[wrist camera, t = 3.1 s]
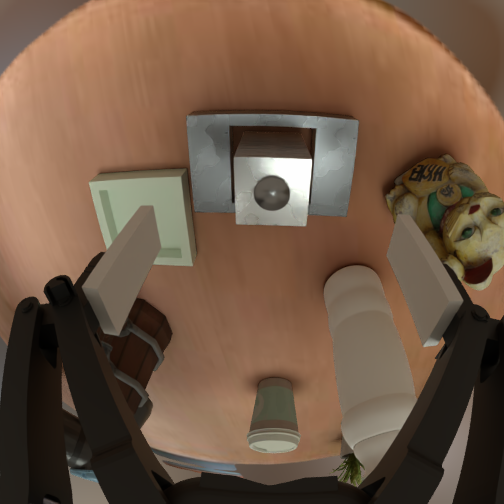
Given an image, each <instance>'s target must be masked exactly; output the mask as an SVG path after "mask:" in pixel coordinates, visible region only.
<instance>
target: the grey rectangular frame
mask: <svg viewBox="0 0 504 504" xmlns="http://www.w3.org/2000/svg"><path fill="white" fill-rule="evenodd" d="M186 121H187V134H188V147H189V159H190V170H191V181H192V191H193V201H194V210H195V212H218V213H236V211H235V184H234V151H233V126H282V127H303V128H312V143H311V158H312V166H311V179H310V191H309V202H308V213H307V215H321V216H342V217H347V211H348V204H349V198H350V191H351V184H352V177H353V170H354V162H355V154H356V145H357V136H358V127H359V120H357V119H356V118H354V117H353V116H348V115H339V114H328V113H316V112H302V111H280V110H219V111H197V112H192V113H190V114H189V115H187V116H186Z"/></svg>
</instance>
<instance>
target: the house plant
mask: <svg viewBox="0 0 504 504" xmlns="http://www.w3.org/2000/svg"><path fill="white" fill-rule="evenodd" d="M340 458H341V459H345V460H346V459H348V460H347V461H345V460H344V462H343V463H346V464H345V465H343V463H342V464H341V465H340V466H339V467H342V466H344V467H343V468H342V469H339V468H337V469H339V470H343V469H344V468H346V467H347V465H348V467H347V469H346V470H347V471H346V473H345V474H344V476H345V475H346V476H345V478H344V476H343V477H342V479H343V478H344V480H343V481H342V482H345V483H346V482H347V480H348V478H349V476H350V480H351V483H353V484H354V486H356V484H355V479H356V481H357V483H358V485H359V484H361V482H362V480H361V471H360V465H361V466H362V467H363V469H364V470H365V468H364V466H363V465H362V464H361V463H360V461H359V460H358V459H357V458H356V456H355V454H354V451H353V449H351V448H350V446H349V445H348V443H347V442H346V440H345V439H344V437H343V436H342V445H341V454H340ZM359 464H360V465H359ZM337 469H336V470H337ZM336 470H335V471H336ZM339 470H338V471H339ZM335 471H334V472H335ZM343 472H344V471H343ZM343 472H342V473H343ZM332 473H333V472H332ZM350 473H351V475H350ZM341 475H342V474H341ZM341 475H340V476H341ZM340 476H339V477H338V479H339V478H340ZM342 479H341V480H342ZM341 480H340V481H341Z"/></svg>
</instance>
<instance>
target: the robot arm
mask: <svg viewBox="0 0 504 504" xmlns="http://www.w3.org/2000/svg"><path fill="white" fill-rule="evenodd" d="M160 249H161V243H160V238H159V233H158V228H157V222H156V217H155V212H154V206H153V205H145V206H140V207H139V208H138V210H137V211H136V212H135V213H134V215H133V216H132V217H131V219H130V220H129V221H128V222H127V224H126V225H125V226H124V228H123V229H122V230H121V232H120V233H119V234H118V236H117V237H116V238H115V240H114V241H113V243H112V244H111V245H110V247H109V248H108V249H107V251H106V252H100V253H99V254H98V255H96V256H95V257H94V258H93V259H92V260H91V261H90V263H89V264H88V267H86V268H85V270H84V272H83V273H82V274H81V276H80V277H79V279H78V280H77V281H76V283H75V284H74V286H73V283H72V281H71V279H70V278H69V277H68V276H66V275H60V276H57V277H54V278H53V279H51V280H50V281H49V282H48V283H47V284H46V286H45V287H44V293H45V295H46V297H47V299H48V301H49V303H48V304H42V305H41V304H40V303H39V301H38V299H37V298H36V297H28V298H25V299H23V300H22V301H21V302H20V303H19V304H18V306H17V308H16V311H15V315H14V319H13V323H12V328H11V332H10V337H9V342H8V348H7V353H6V359H5V366H4V373H3V381H2V390H1V401H0V504H73V499H72V489H71V483H70V476H69V470H68V466H69V467H71V468H70V473H71V474H72V475H75V476H78V477H81V478H84V479H88V480H91V481H94V482H98V483H99V485H100V486H101V489H102V491H103V493H104V495H105V497H106V499H107V501H108V502H109V504H428V502H429V500H430V499H431V497H432V495H433V494H434V492H435V490H436V488H437V487H438V485H439V483H440V481H441V479H442V477H443V474H444V469H443V468H442V463H443V461H444V459H445V457H446V455H447V453H448V450H449V448H450V446H451V444H452V442H453V440H454V438H455V435H456V433H457V431H458V428H459V426H460V423H461V421H462V418H463V415H464V413H465V410H466V408H467V405H468V402H469V399H470V397H471V394H472V390H473V387H474V397H473V407H472V415H471V423H470V429H469V435H468V441H467V446H466V452H465V456H464V461H463V465H462V470H461V474H460V478H459V481H458V485H457V489H456V493H455V495H454V499H453V503H452V504H504V316H503V317H502V319H501V320H496V319H492V318H490V316H489V314H488V313H487V311H486V310H485V309H484V308H482V307H481V306H479V305H476V304H473V303H472V301H471V299H470V297H469V295H468V294H467V292H466V290H465V288H464V287H463V285H462V283H461V282H460V280H459V279H458V277H457V275H456V273H455V272H454V270H453V269H452V268H451V267H449V266H448V265H447V264H442V263H441V261H440V259H439V258H438V256H437V255H436V253H435V251H434V250H433V248H432V247H431V245H430V244H429V242H428V241H427V239H426V238H425V236H424V235H423V233H422V232H421V230H420V229H419V227H418V226H417V225H416V223H415V222H414V220H413V219H412V217H411V216H410V215H404V214H398V215H397V219H396V223H395V227H394V230H393V234H392V238H391V241H390V245H389V248H388V252H387V255H386V256H387V258H388V260H389V262H390V264H391V267H392V269H393V271H394V274H395V276H396V278H397V280H398V283H399V285H400V288H401V290H402V292H403V295H404V297H405V300H406V302H407V305H408V307H409V310H410V312H411V315H412V318H413V320H414V323H415V326H416V328H417V331H418V334H419V337H420V339H421V342H422V345H423V347H426V346H435V345H437V344H438V343H439V341H440V340H441V338H442V336H443V338H444V341H445V344H444V346H443V347H442V349H441V350H440V352H439V353H438V354H437V356H436V357H435V359H437V361H436V363H435V365H434V367H433V370H432V372H431V374H430V376H429V378H428V380H427V382H426V384H425V386H424V388H423V390H422V392H421V394H420V396H419V398H418V400H417V402H416V404H415V405H414V407H413V409H412V411H411V413H410V414H409V416H408V418H407V420H406V421H405V423H404V425H403V426H402V428H401V430H400V431H399V433H398V435H397V436H396V438H395V439H394V441H393V443H392V444H391V446H390V447H389V449H388V450H387V452H386V453H385V455H384V456H383V458H382V459H381V461H380V462H379V463H378V465H377V466H376V467H375V469H374V470H373V471H372V472H371V473H370V474H369V475H368V476H367V477H366V478H365V479H364V480H363V482H362V483H361V484H360V485H359V486H358V488H357V487H356V486H353V485H351V484H348V483H345V482H341V481H338V478H337V476H329V477H311V478H302V479H298V480H294V481H290V482H286V483H281V484H277V485H264V484H261V483H257V482H253V481H250V480H247V479H243V478H240V477H237V476H231V475H221V474H213V473H205V472H202V473H201V477H196V478H191V479H187V480H183V481H180V482H178V483H176V484H174V482H173V480H172V479H171V477H170V476H169V475H168V473H167V472H166V471H165V469H164V468H163V467H162V466H161V464H160V463H159V461H158V460H157V458H156V457H155V455H154V453H153V451H152V450H151V448H150V446H149V444H148V443H147V441H146V439H145V437H144V435H143V434H142V432H141V430H140V429H141V427H142V426H143V425H144V423H145V422H146V420H147V419H148V418H149V416H150V414H151V411H152V407H153V405H152V403H151V401H150V400H149V399H148V400H147V401H146V402H145V403H144V405H143V406H142V407H138V409H137V411H136V413H135V415H134V416H133V414H132V412H131V410H130V408H129V406H128V404H127V402H126V400H125V398H124V396H123V394H122V391H121V389H120V387H119V385H118V382H117V380H116V378H115V376H114V373H113V371H112V368H111V366H110V364H109V361H108V359H107V356H106V354H105V351H104V348H103V346H102V343H101V340H100V338H99V335H98V333H97V332H96V331H97V329H98V327H99V325H100V326H101V328H102V330H103V332H104V333H105V334H111V335H117V336H119V334H120V332H121V330H122V327H123V325H124V323H125V321H126V319H127V316H128V314H129V312H130V310H131V308H132V306H133V304H134V301H135V299H136V297H137V295H138V293H139V291H140V289H141V287H142V285H143V283H144V281H145V279H146V277H147V275H148V273H149V271H150V269H151V267H152V265H153V263H154V261H155V259H156V257H157V255H158V253H159V251H160ZM62 362H63V366H64V370H65V374H66V378H67V382H68V385H69V389H70V392H71V396H72V399H73V402H74V405H75V408H76V411H77V414H78V417H79V418H78V417H76V416H75V415H73V414H71V413H69V412H68V411H66V410H64V409H63V408H62Z"/></svg>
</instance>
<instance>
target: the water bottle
mask: <svg viewBox="0 0 504 504" xmlns="http://www.w3.org/2000/svg"><path fill="white" fill-rule="evenodd" d="M324 300H325V305H326V309H327V312H328V324H329V330H330V334H331V337H332V339H333V355H334V365H335V374H336V382H337V389H338V395H339V401H340V406H341V411H342V415H343V418H342V422H341V430H342V434H343V437H344V439H345V440H346V442H347V443H348V445H349V446H350V448H351V449H353V451H354V454H355V456H356V458H357V459H358V460H359V461H360V462H361V463H362V464H363V466H364V468H365V474H364V476H363V477H362V478H361V480H362V481H363V480H364V479H365V478H366V477H367V476H368V475H369V474H370V473H371V472H372V471H373V470H374V469H375V467H376V466H377V465H378V463H379V462H380V461H381V459H382V458H383V456H384V455H385V453H386V452H387V450H388V449H389V447H390V446H391V444H392V443H393V441H394V439H395V438H396V436H397V435H398V433H399V431H400V430H401V428H402V426H403V425H404V423H405V421H406V420H407V418H408V416H409V414H410V413H411V411H412V409H413V407H414V405H415V404H416V402H417V400H418V399H417V398H416V397H415V390H414V384H413V379H412V374H411V370H410V366H409V363H408V359H407V356H406V353H405V350H404V347H403V344H402V341H401V338H400V336H399V333H398V331H397V328H396V326H395V324H394V322H393V315H392V311H391V308H390V305H389V303H388V301H387V299H386V298H385V294H384V290H383V286H382V284H381V281H380V278H379V277H378V275H377V274H376V272H375V271H373V270H372V269H370V268H368V267H365V266H360V265H354V266H348V267H345V268H342V269H340V270H338V271H337V272H335V273H334V274H333V275H332V276H331V277H330V278H329V279H328V280H327V282H326V284H325V287H324ZM361 483H362V482H361Z"/></svg>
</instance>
